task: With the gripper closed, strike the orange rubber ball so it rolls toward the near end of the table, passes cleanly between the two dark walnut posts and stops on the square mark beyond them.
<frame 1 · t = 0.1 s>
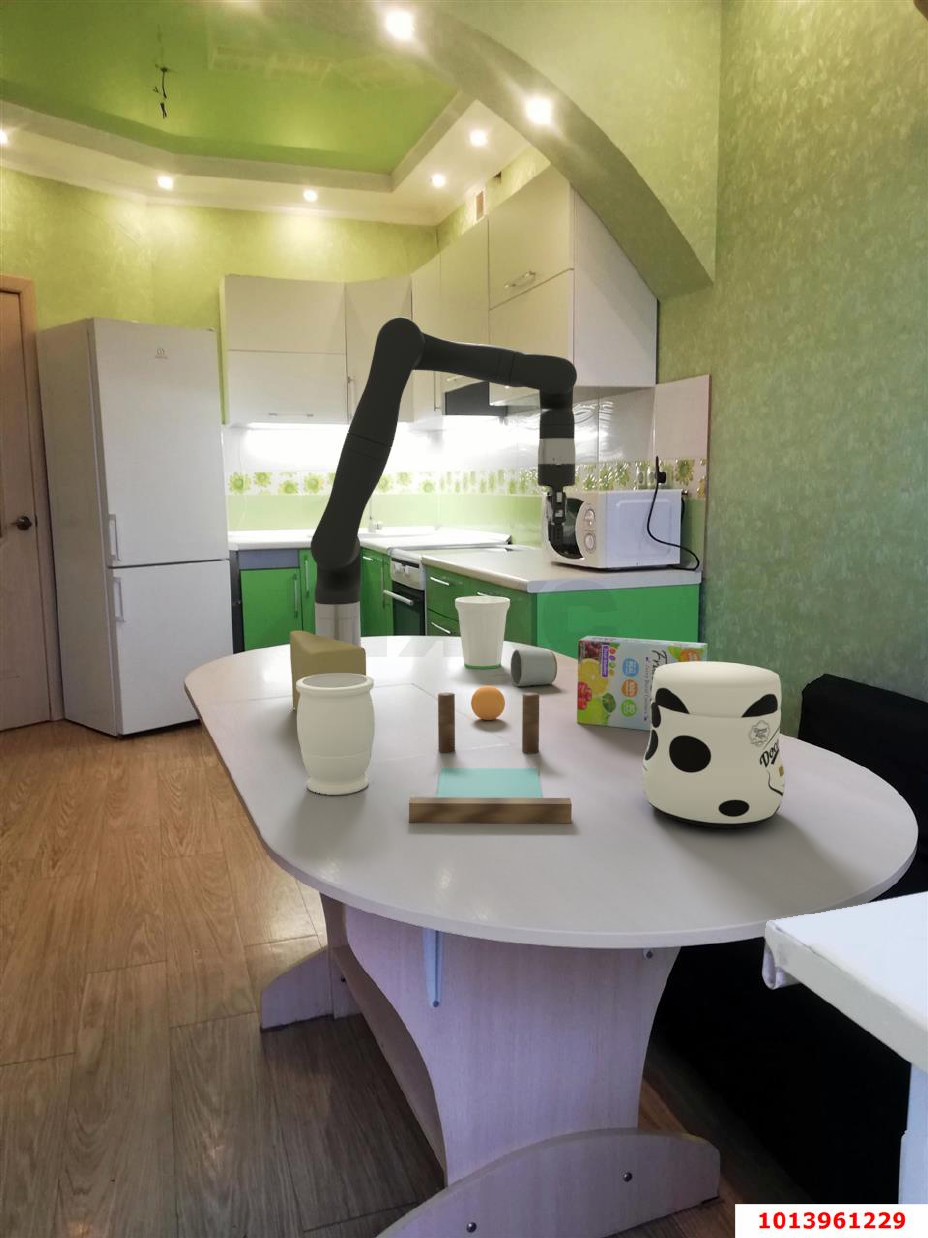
hand: (555, 543, 175), 29 cm above the table, tool pointing down, fingers open, 8 cm apart
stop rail: (489, 819, 107), on the table
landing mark: (489, 786, 119), on the table
ceramic mug: (530, 684, 180), on the table
right post: (530, 750, 135), on the table
left post: (446, 750, 135), on the table
cheese: (318, 722, 152), on the table
snack box: (639, 727, 148), on the table
cup: (482, 666, 198), on the table
jar: (337, 787, 120), on the table
ball: (487, 703, 152), on the table
spotted treat canister: (710, 813, 110), on the table
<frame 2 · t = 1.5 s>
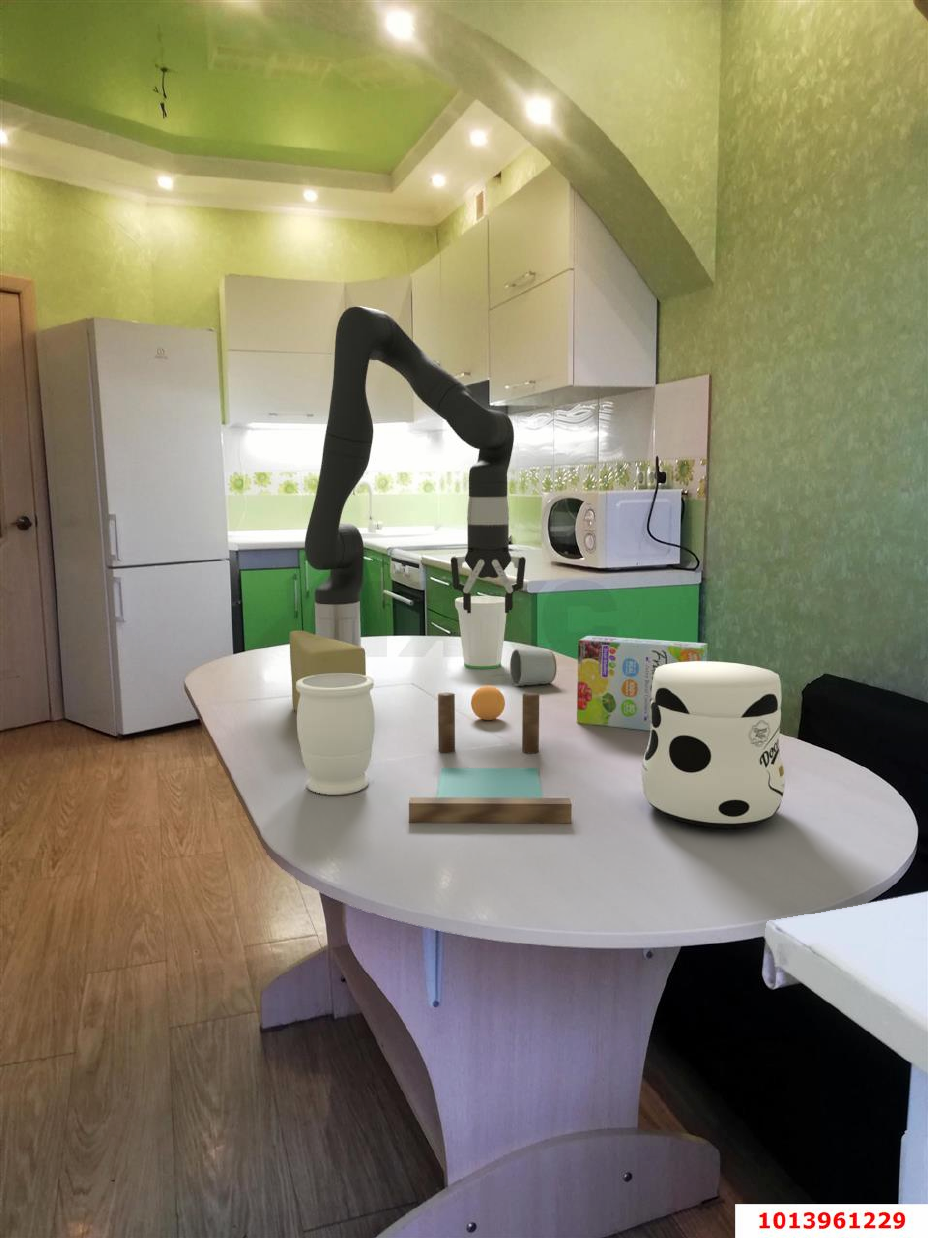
hand: (488, 612, 159), 18 cm above the table, tool pointing down, fingers open, 6 cm apart
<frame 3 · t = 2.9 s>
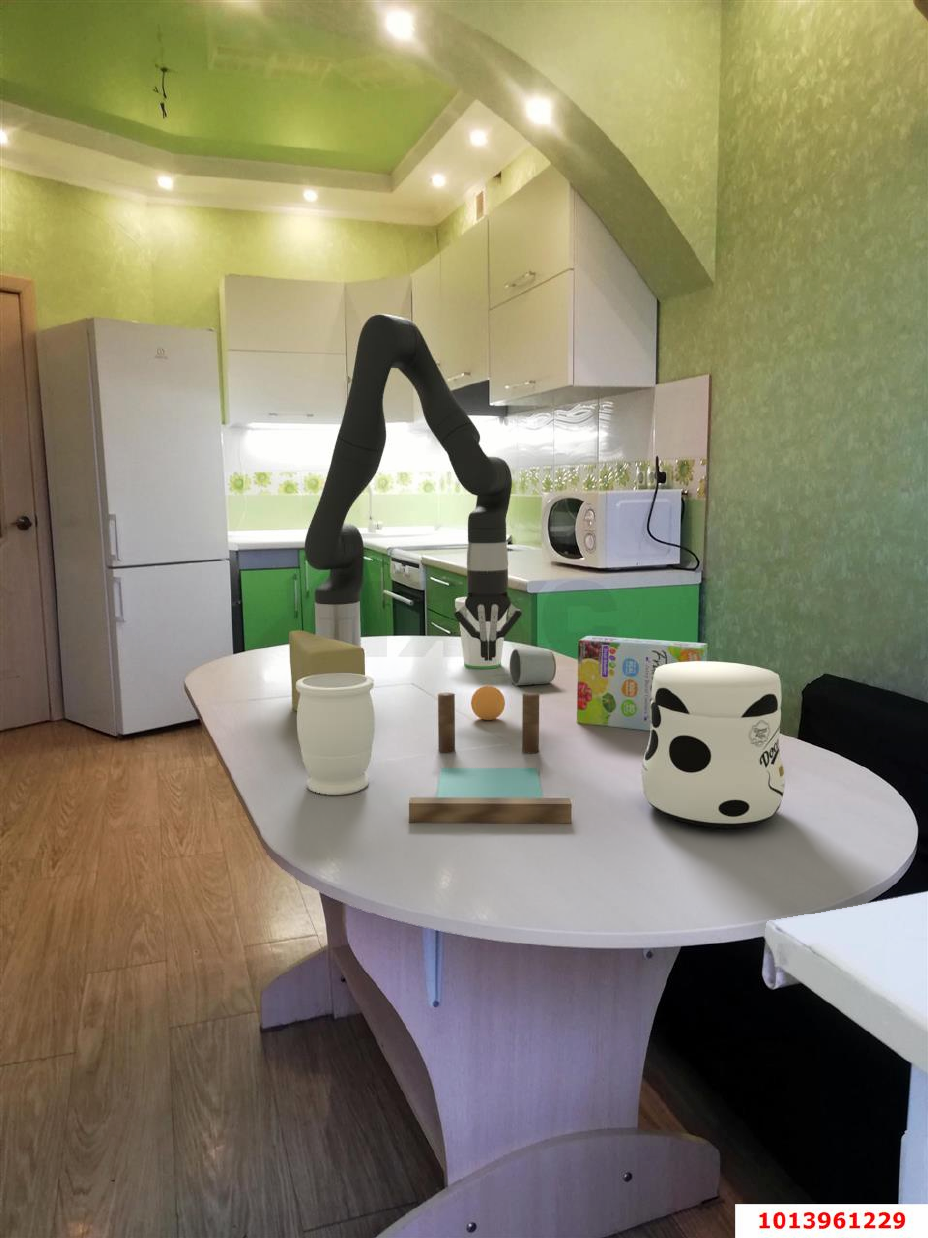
hand: (488, 659, 160), 9 cm above the table, tool pointing down, fingers closed
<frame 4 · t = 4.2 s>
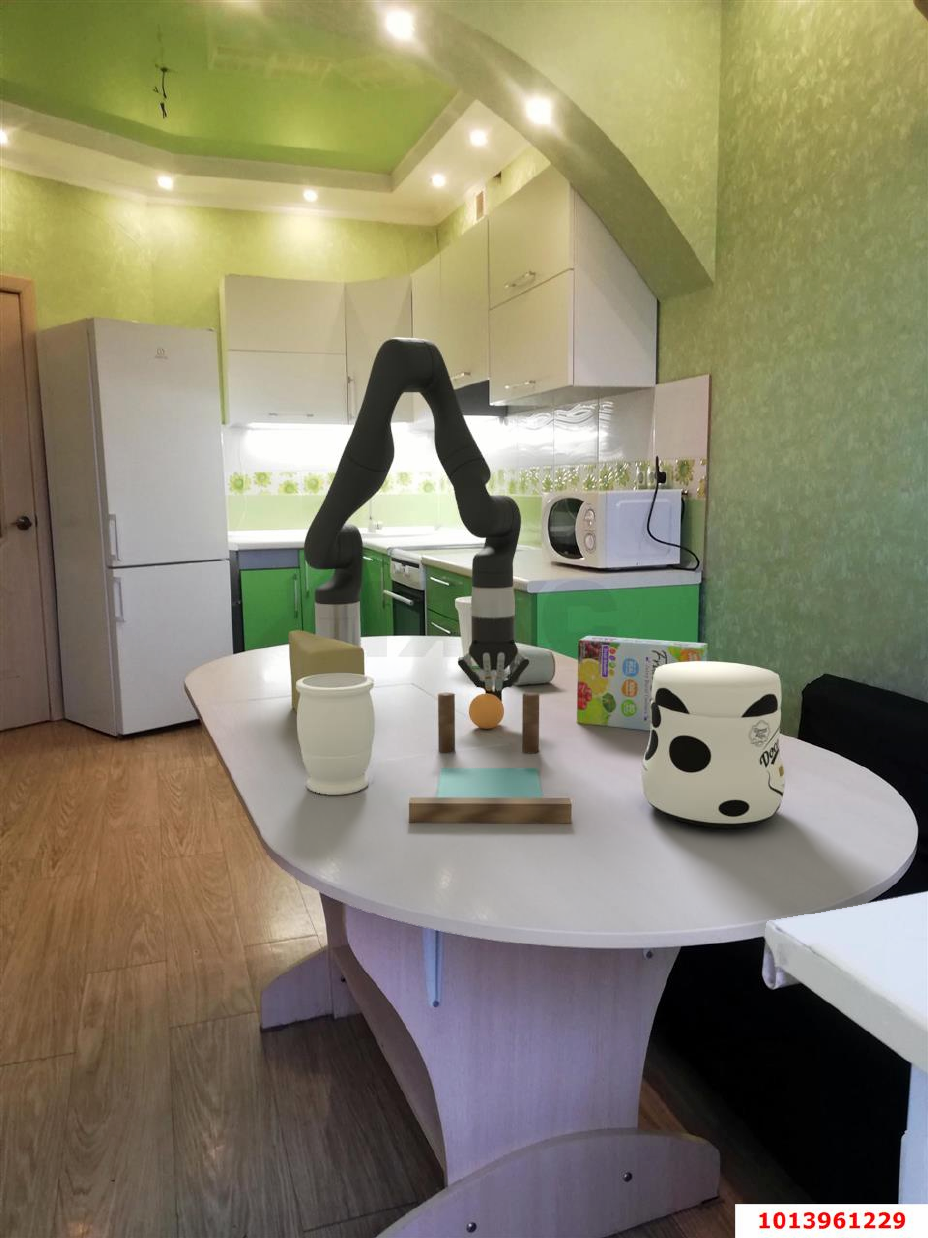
hand: (493, 710, 151), 2 cm above the table, tool pointing down, fingers closed
ball: (486, 711, 147), on the table
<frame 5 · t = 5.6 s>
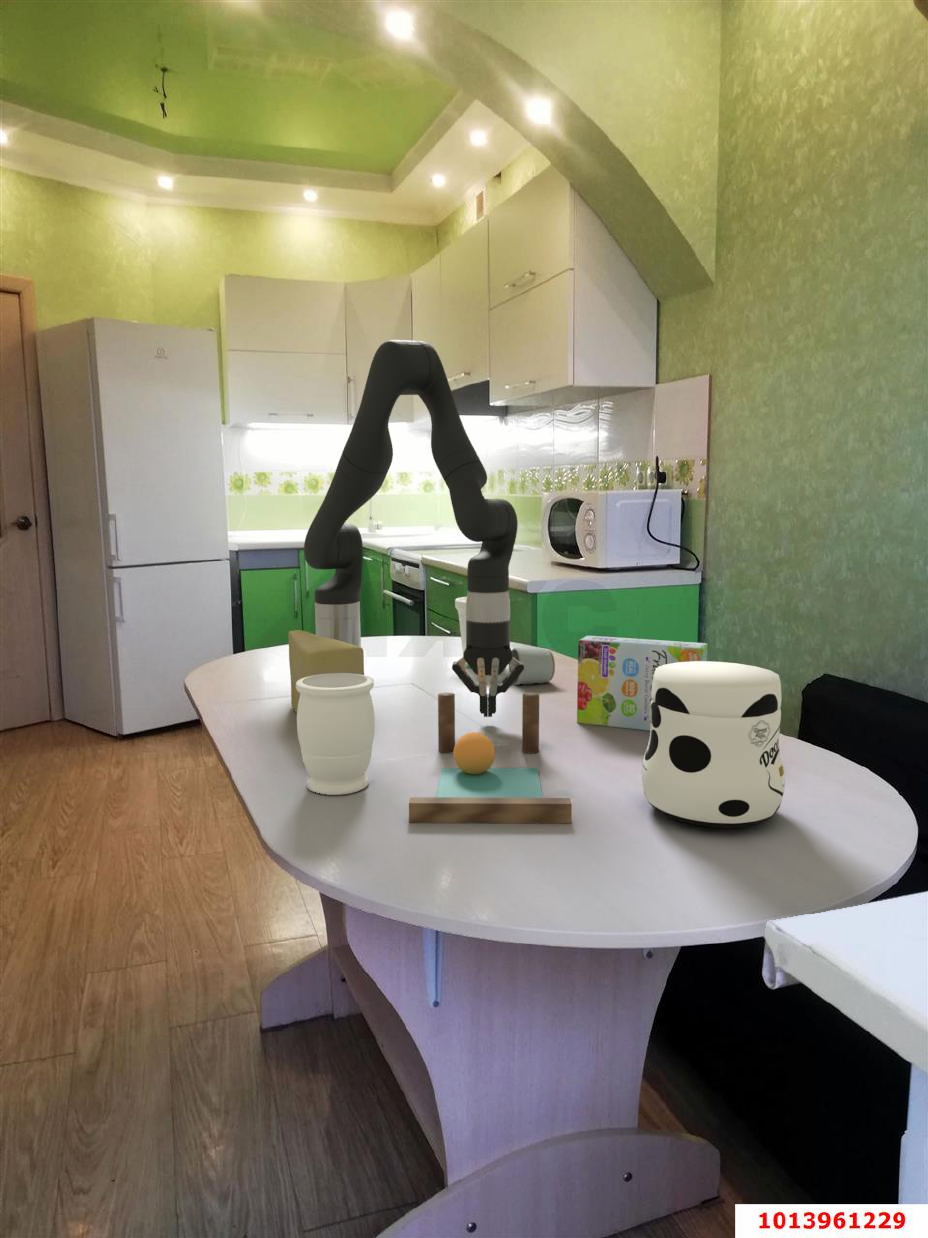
hand: (488, 715, 149), 2 cm above the table, tool pointing down, fingers closed
ball: (474, 753, 124), on the table
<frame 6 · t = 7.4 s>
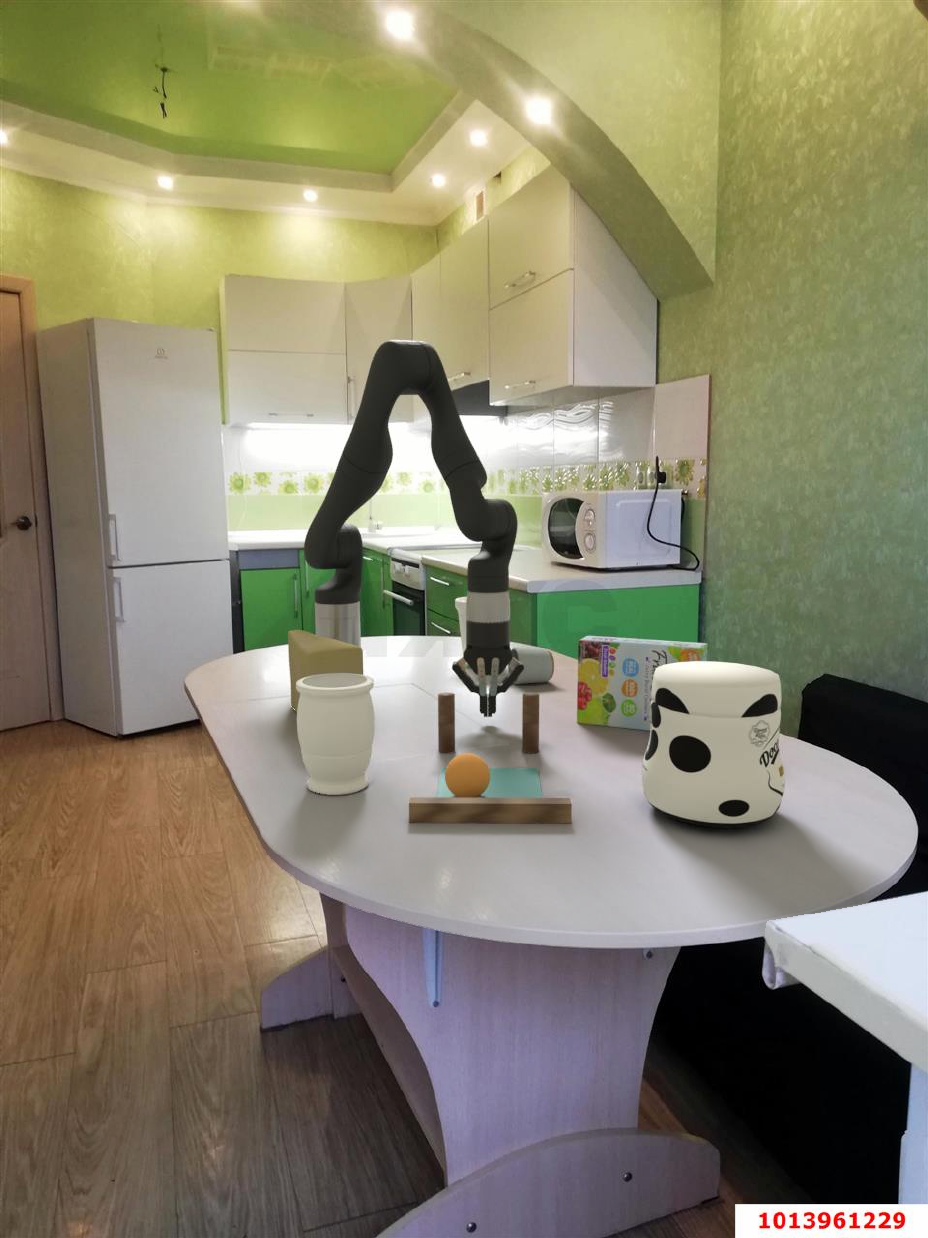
hand: (488, 715, 149), 2 cm above the table, tool pointing down, fingers closed
ball: (467, 776, 114), on the table
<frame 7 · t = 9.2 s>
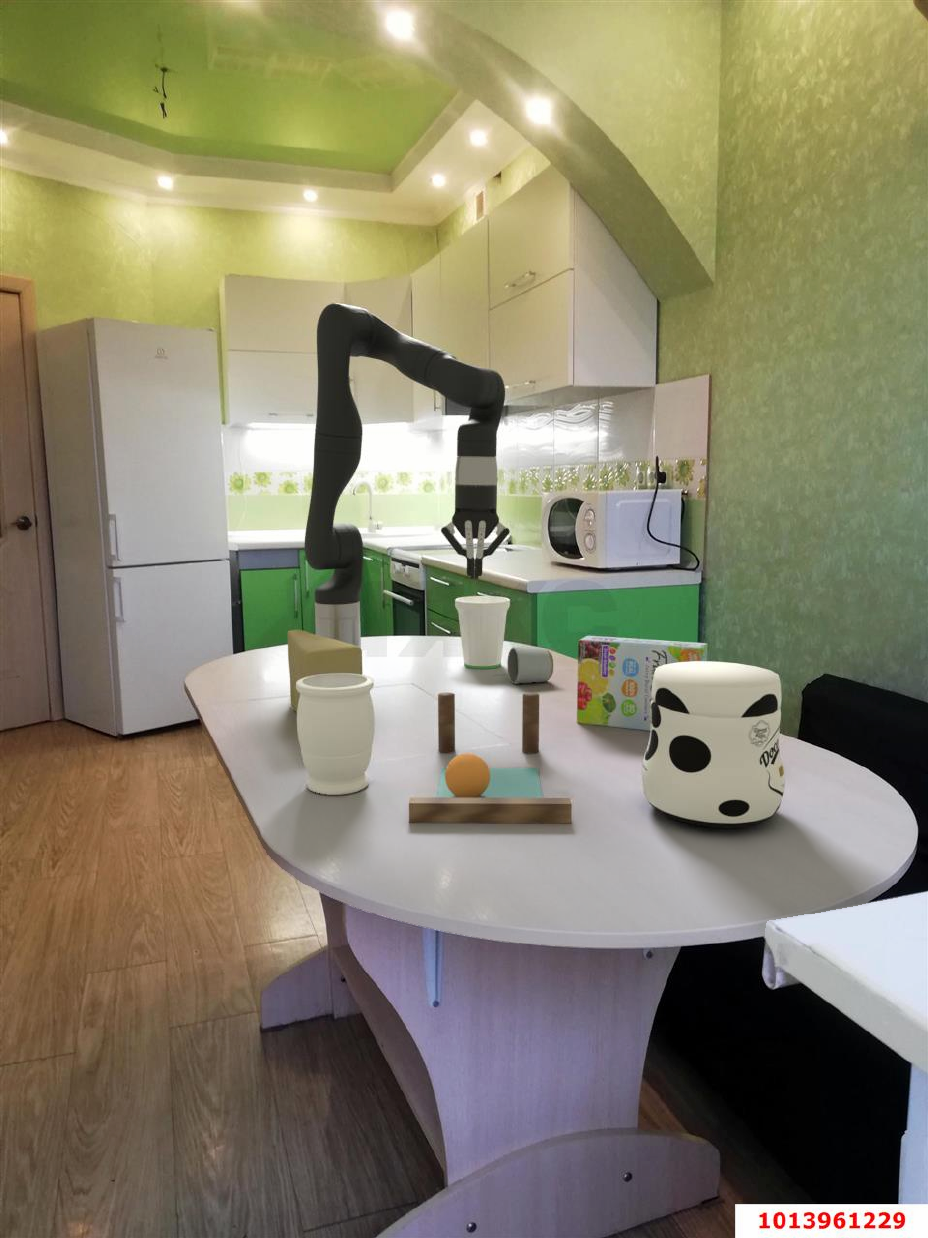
hand: (474, 578, 157), 24 cm above the table, tool pointing down, fingers closed
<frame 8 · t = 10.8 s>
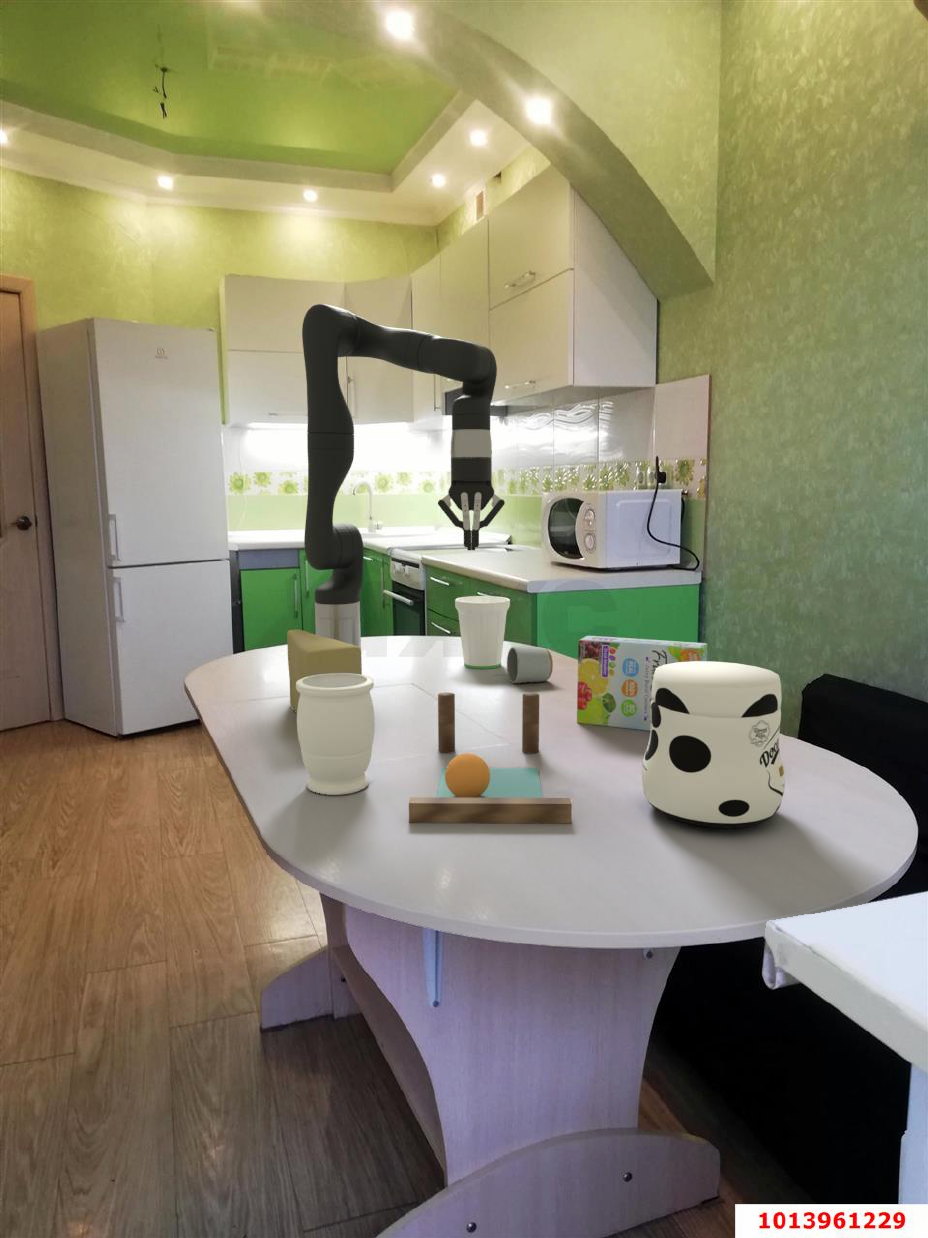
hand: (471, 549, 161), 29 cm above the table, tool pointing down, fingers closed
at the end: ball 5.4 cm from the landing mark (horizontally); ball never touched left post; ball never touched right post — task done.
